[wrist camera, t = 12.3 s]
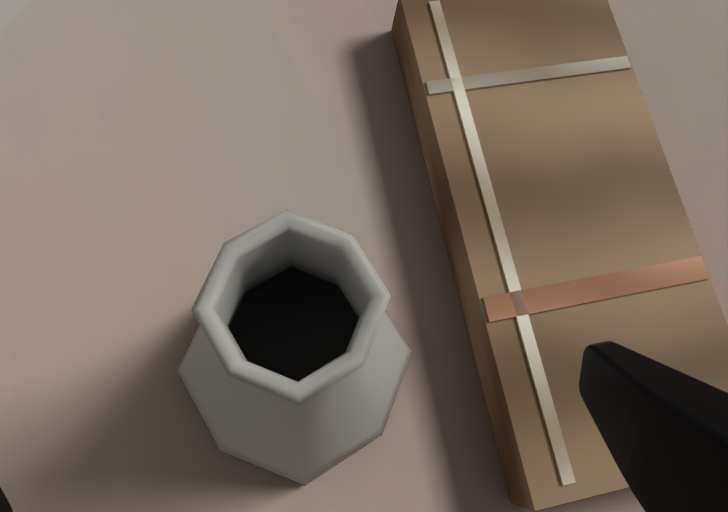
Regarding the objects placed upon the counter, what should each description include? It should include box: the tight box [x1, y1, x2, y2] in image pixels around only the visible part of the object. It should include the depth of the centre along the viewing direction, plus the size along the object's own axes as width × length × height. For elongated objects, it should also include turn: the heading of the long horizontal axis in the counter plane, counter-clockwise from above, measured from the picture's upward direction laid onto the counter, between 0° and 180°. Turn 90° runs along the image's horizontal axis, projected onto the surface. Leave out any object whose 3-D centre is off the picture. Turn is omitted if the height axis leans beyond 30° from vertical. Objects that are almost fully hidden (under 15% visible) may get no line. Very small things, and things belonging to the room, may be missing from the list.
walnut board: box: [391, 0, 728, 511], centre depth 21 cm, size 18×8×2 cm, turn 12°
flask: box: [177, 209, 412, 485], centre depth 15 cm, size 7×7×10 cm
